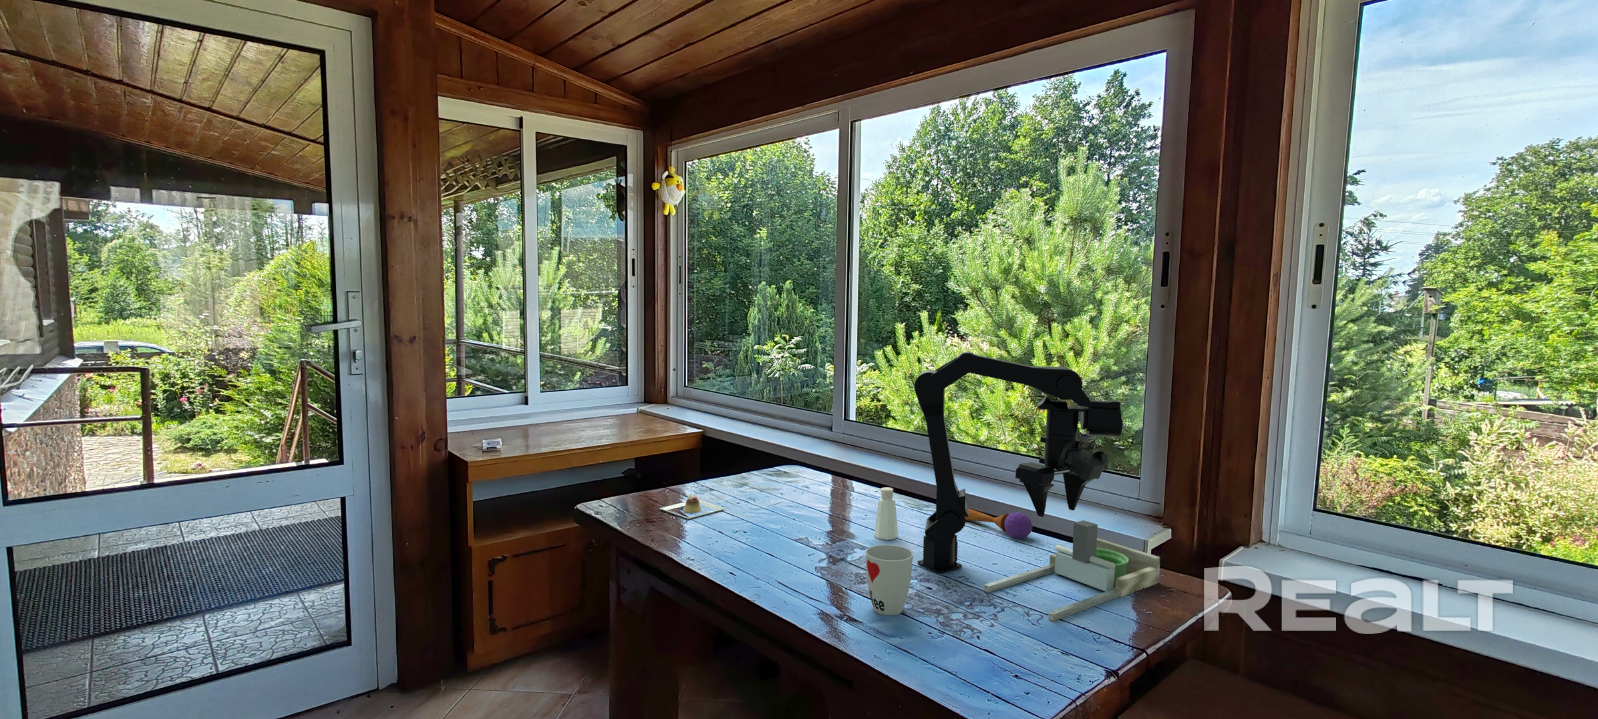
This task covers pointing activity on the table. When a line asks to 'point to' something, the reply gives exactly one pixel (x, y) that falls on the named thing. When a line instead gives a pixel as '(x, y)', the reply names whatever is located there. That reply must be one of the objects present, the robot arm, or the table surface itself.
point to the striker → (1085, 559)
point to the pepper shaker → (886, 516)
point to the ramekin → (1114, 561)
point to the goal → (1138, 576)
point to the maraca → (1006, 522)
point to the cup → (888, 577)
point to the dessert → (692, 507)
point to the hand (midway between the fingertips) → (1056, 513)
